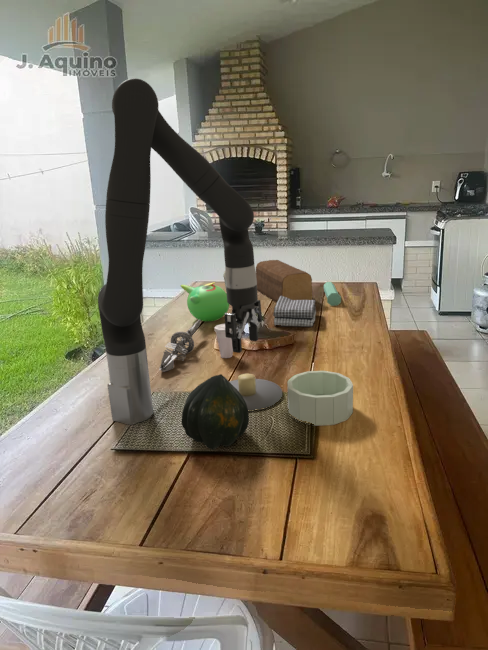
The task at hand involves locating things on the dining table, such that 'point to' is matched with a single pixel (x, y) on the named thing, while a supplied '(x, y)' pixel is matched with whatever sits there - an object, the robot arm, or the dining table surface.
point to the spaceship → (178, 347)
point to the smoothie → (224, 341)
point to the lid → (257, 391)
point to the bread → (283, 281)
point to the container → (332, 294)
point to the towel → (294, 312)
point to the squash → (215, 413)
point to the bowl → (320, 397)
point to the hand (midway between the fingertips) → (246, 346)
